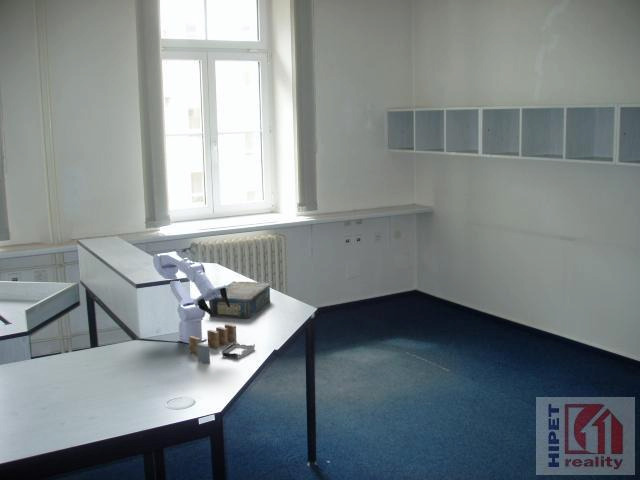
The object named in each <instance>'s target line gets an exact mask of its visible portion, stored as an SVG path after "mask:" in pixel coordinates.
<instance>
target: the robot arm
mask: <svg viewBox="0 0 640 480" xmlns="http://www.w3.org/2000/svg"><path fill="white" fill-rule="evenodd" d="M152 258H153V260H152V261H153V266H154V267H153V268H155V270H156V272H157V273H158V274H159V276H161V277H162V278H165V279H177V278H178V276H177V273H178V272H181V273H183V274H185V276H186V279H187V280H189V281H190V282H191V283H194V285H195V287H196V288H197V290H198V291H199V293H200V296H198V297H197V298H192V297H191V296H190V294H189V293H188V291H187V290H186V288H185V286H184V285H183V284H182V283H181V281H180V280H179V281H171V282H170V287H171V290H170V291H171V293H172V295H173V296H174V297H175V299H176V301H177V302H178V306H177V310H176V311H177V313H178V316H179V319H180V321H179V323H178V339H177V341H178V342H183V343H186V344H189V337H190V336H194V337H198V338H201V343H202V342H205V341H208V338H206V337H203V330H202V327H203V326H202V321H203V320H204V318H205V315H206V314H208V315H209V317H211V316H213V314H212V311H211V310H210V306H209V305H208V304H207V302H209V301H210V300H212V299H214V298H215V297H216V296H218V295H219V294H221V297H222V299H223V300H224V302H225V303H226V305H227V306H228V308H229V307H230V304H229V301H228V298H227V291H228V287H227V285H226V284H224V285H222V286H218V287H214V285H213V284H212V282H211V281H210V279H209V277H208V276H207V274H206V272H205V271H206V269H205V267H204V264H203V263H201V262H198V263H195V262H194V261H191V260H190V259H189V258H188V257H185V258H182V257H180V256H179V254H178V252H176V251H171V252H162V253H155V254H154V255H153V257H152ZM213 317H214V316H213Z"/></svg>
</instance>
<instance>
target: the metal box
mask: <svg viewBox="0 0 640 480" xmlns="http://www.w3.org/2000/svg"><path fill="white" fill-rule="evenodd" d="M270 284H271V283H270V282H257V281H254V282H253V281H232V282H230V283H229V284H227V285H226V286H227V287H228V291H227V298H228V301H229V304H230V307H229V308H228V306H227V305H226V303H225V302H224V300H223V299H222V297H221V294H219V295H218V296H216V297H215V298H214V299H212V300H210V301H208V307H209V309H210V310H211V311H212V314H213V317H218V318H226V317H228V319H244V320H246V319H247V320H248V319H251V317H253V316H254V315H255V314H256V313H258V312H259V311H260V310H261V309H263V308H264V307H265V306H266V305H267V304H268V303H270V301H271V285H270Z"/></svg>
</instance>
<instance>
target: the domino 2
mask: <svg viewBox="0 0 640 480" xmlns="http://www.w3.org/2000/svg"><path fill="white" fill-rule="evenodd" d="M210 349H211V348H210V347H209V345H208V344H206V343H202V342H201V343H199V344H197V351H198V356H197V362H199V363H202V364H206V365H208V364H211V353H210V352H211V351H210Z"/></svg>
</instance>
